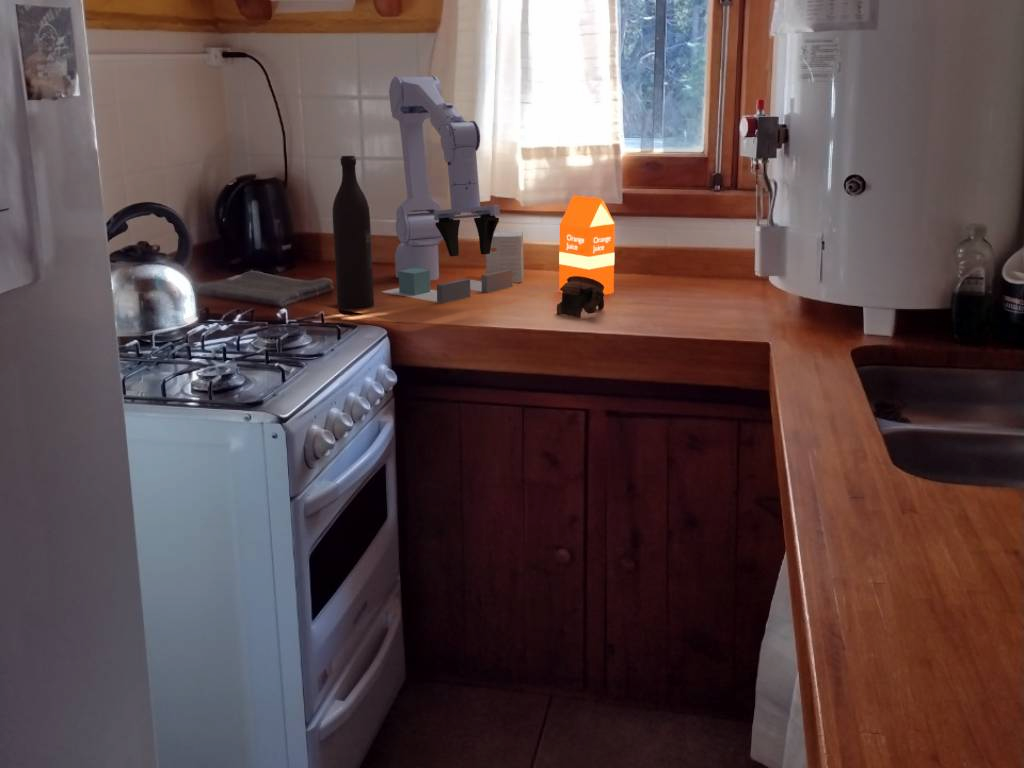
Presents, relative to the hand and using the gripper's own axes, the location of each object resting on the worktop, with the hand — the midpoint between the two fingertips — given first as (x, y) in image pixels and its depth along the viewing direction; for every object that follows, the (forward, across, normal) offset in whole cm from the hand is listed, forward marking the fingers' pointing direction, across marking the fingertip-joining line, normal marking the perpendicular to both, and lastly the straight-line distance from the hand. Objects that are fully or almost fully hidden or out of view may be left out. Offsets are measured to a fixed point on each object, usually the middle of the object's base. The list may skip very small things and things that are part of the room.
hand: (469, 255), depth 209 cm
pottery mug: (+13, +20, +7) cm, 25 cm away
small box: (+7, -10, +27) cm, 30 cm away
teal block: (+7, -16, +2) cm, 17 cm away
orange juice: (+10, +11, +25) cm, 29 cm away
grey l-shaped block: (+8, -9, +14) cm, 18 cm away
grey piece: (+9, -13, +1) cm, 16 cm away
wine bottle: (+9, -18, -14) cm, 25 cm away
